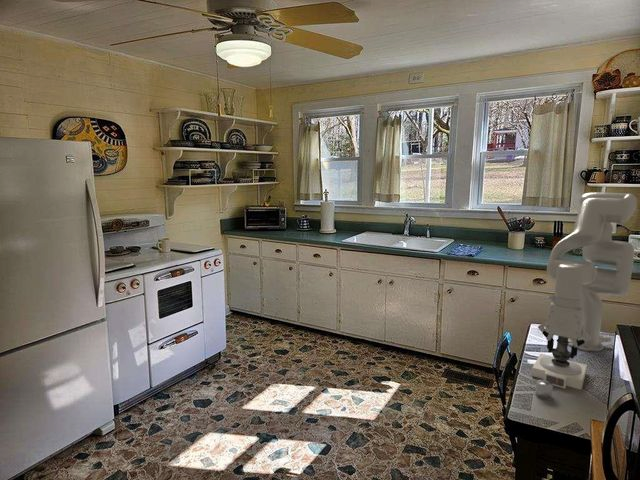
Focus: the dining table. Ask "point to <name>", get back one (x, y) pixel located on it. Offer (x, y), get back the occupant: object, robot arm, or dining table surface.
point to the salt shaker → (561, 352)
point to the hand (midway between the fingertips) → (561, 353)
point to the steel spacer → (544, 389)
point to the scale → (559, 372)
